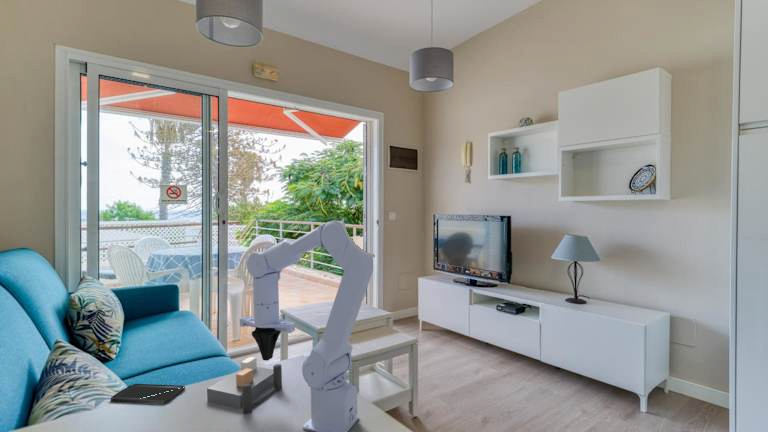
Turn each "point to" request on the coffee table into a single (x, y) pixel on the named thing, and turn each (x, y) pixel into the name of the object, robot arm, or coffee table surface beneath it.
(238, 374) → the orange rectangular block
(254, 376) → the grey tray with posts
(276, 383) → the dark grey post rail
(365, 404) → the coffee table surface
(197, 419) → the coffee table surface
